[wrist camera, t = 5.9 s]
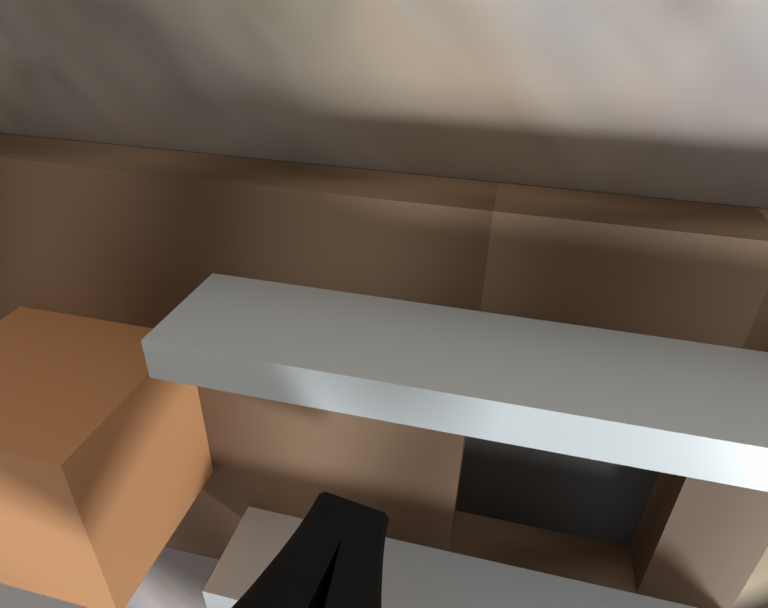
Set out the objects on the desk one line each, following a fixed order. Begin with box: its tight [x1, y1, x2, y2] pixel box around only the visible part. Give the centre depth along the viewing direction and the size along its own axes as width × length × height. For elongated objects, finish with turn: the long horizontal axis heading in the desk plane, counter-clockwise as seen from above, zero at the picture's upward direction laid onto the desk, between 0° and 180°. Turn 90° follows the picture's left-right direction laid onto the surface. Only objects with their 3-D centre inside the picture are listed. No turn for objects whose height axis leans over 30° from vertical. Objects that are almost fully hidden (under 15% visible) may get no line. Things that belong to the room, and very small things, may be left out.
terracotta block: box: [0, 307, 213, 608], centre depth 13 cm, size 4×4×4 cm
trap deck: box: [0, 133, 768, 608], centre depth 14 cm, size 19×12×2 cm, turn 89°
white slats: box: [141, 273, 768, 608], centre depth 12 cm, size 12×8×2 cm, turn 89°
